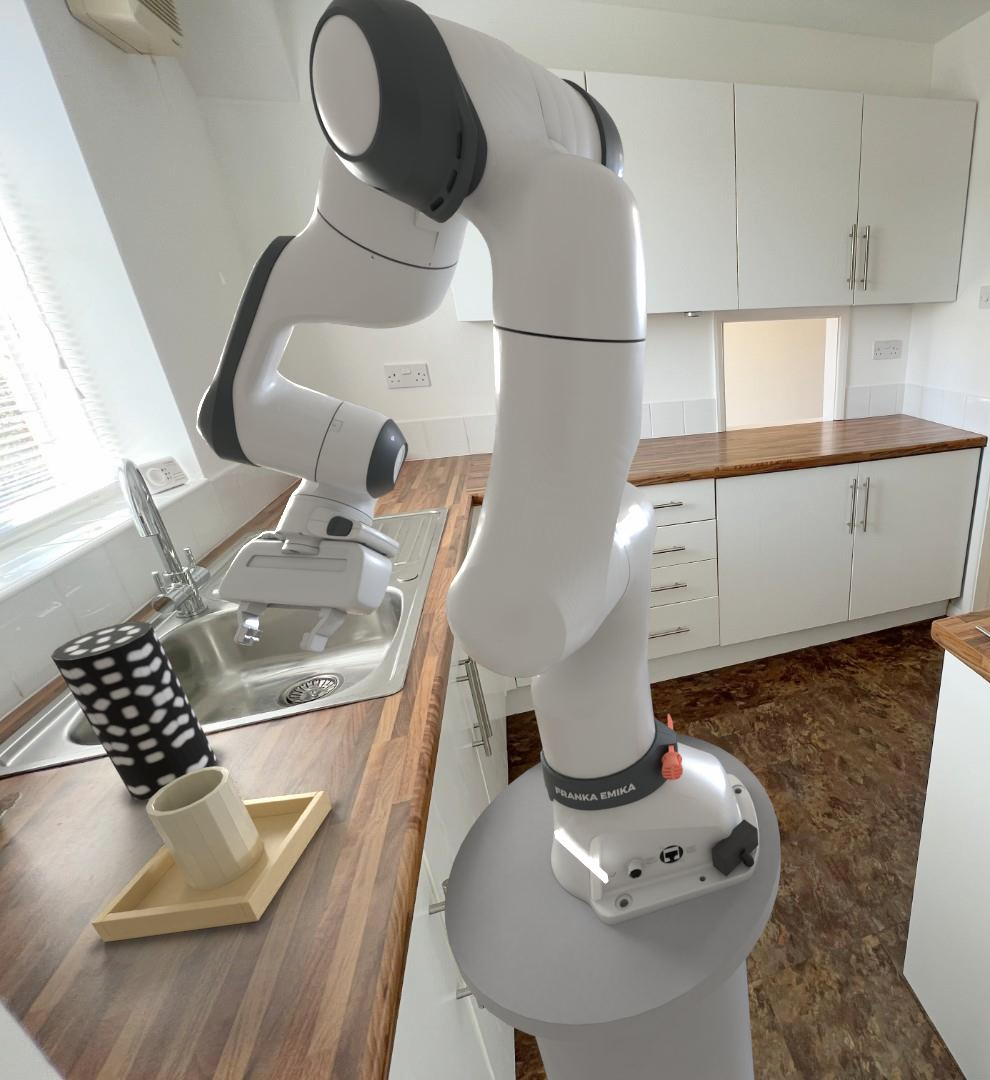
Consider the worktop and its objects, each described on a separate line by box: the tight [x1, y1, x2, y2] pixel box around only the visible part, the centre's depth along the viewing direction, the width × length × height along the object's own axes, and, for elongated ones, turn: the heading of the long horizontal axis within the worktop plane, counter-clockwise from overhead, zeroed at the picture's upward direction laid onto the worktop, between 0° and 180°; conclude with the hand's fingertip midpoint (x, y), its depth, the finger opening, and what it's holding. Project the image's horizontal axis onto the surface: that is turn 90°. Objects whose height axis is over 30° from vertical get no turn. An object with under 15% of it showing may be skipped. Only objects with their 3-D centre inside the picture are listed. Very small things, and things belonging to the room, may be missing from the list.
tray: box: [91, 790, 332, 943], centre depth 60 cm, size 14×14×3 cm
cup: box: [145, 765, 263, 891], centre depth 59 cm, size 6×6×10 cm
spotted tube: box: [50, 621, 217, 801], centre depth 71 cm, size 8×8×20 cm
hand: (276, 647), depth 65 cm, fingers open, 8 cm apart
